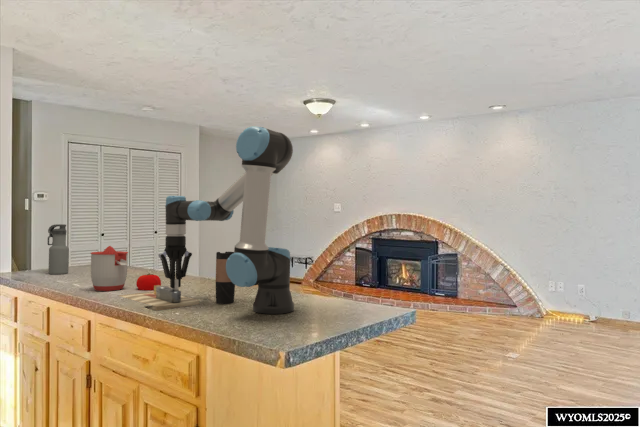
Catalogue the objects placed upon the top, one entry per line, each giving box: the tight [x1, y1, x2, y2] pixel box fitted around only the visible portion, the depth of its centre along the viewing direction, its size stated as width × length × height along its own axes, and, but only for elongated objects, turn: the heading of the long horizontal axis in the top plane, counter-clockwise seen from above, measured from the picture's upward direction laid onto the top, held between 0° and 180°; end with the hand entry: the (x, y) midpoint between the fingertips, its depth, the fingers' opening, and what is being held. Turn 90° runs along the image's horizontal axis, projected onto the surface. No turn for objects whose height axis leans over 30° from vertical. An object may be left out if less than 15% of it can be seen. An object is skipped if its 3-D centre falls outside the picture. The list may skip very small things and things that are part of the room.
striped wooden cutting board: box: [117, 290, 201, 312], centre depth 178 cm, size 31×18×2 cm, turn 49°
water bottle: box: [47, 223, 70, 276], centre depth 256 cm, size 10×10×28 cm
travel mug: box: [215, 251, 236, 305], centre depth 179 cm, size 8×8×20 cm
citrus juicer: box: [90, 245, 129, 293], centre depth 205 cm, size 16×17×20 cm
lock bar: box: [156, 285, 182, 303], centre depth 174 cm, size 16×5×4 cm, turn 43°
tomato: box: [135, 272, 162, 292], centre depth 199 cm, size 9×10×8 cm
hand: (175, 295), depth 175 cm, fingers closed
